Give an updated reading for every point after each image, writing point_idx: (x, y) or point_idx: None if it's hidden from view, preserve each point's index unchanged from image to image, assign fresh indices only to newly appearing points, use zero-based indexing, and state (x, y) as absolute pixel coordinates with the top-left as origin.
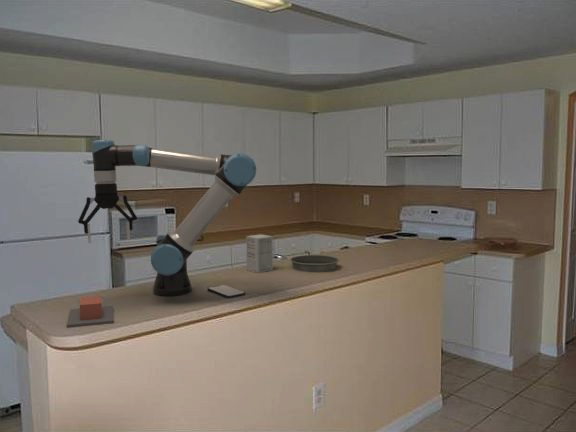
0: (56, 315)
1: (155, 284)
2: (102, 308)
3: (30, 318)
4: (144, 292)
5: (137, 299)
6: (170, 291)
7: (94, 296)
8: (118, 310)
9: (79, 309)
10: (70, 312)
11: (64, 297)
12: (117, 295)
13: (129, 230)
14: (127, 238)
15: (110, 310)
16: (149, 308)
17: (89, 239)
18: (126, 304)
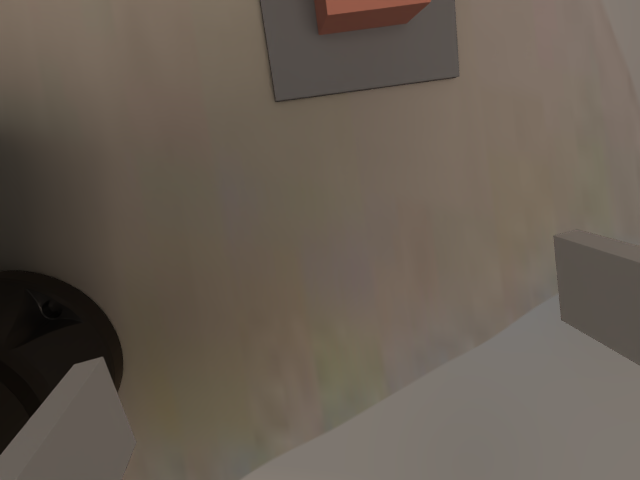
0: (503, 27)
1: (85, 346)
2: (318, 59)
3: (599, 3)
4: (166, 358)
5: (181, 237)
6: (3, 277)
7: (361, 6)
8: (243, 52)
9: (419, 65)
10: (451, 19)
11: (505, 318)
12: (286, 321)
13: (4, 452)
14: (123, 419)
15: (274, 13)
16: (93, 57)
17: (601, 242)
18: (221, 155)
